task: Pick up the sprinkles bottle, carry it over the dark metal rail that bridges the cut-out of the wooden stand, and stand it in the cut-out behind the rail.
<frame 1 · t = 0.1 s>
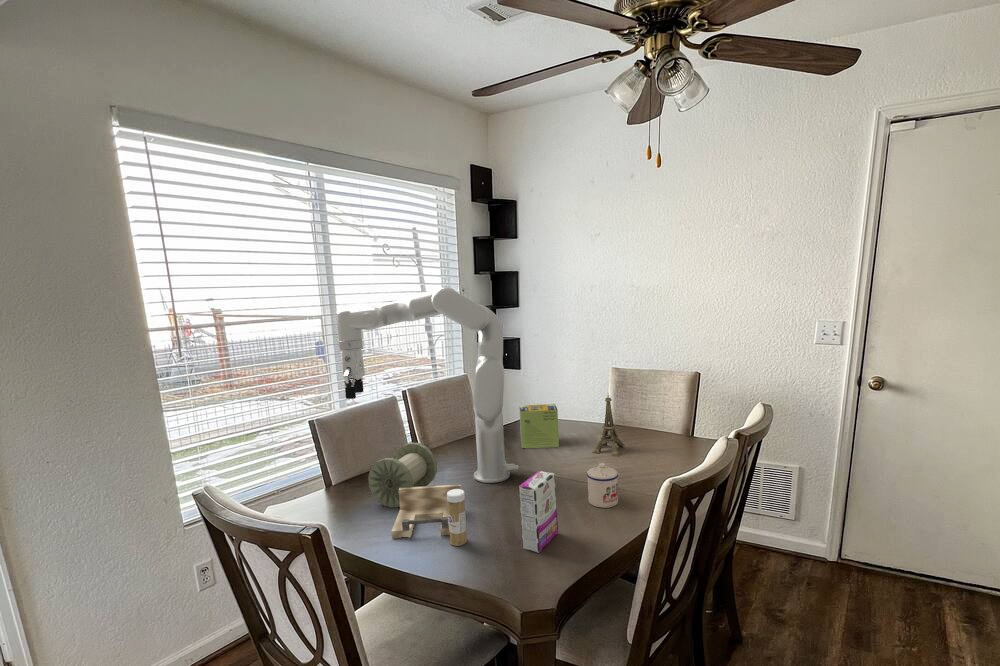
hand: (355, 395, 164), 31 cm above the table, tool pointing down, fingers open, 9 cm apart
protein box: (539, 444, 200), on the table
candy bar box: (540, 541, 123), on the table
teacup with lid: (606, 500, 145), on the table
sprinkles bottle: (458, 542, 125), on the table
wooden stand: (429, 523, 136), on the table
eiffel tower: (609, 451, 188), on the table
spool: (405, 496, 156), on the table
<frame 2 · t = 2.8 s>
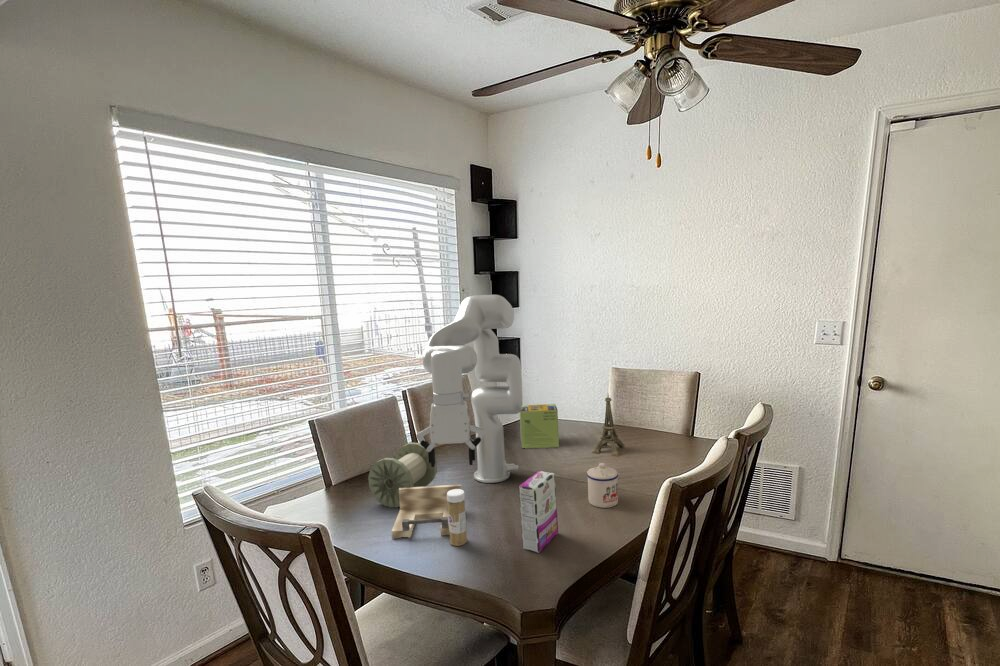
hand: (452, 464, 124), 21 cm above the table, tool pointing down, fingers open, 9 cm apart
nothing on the table moved.
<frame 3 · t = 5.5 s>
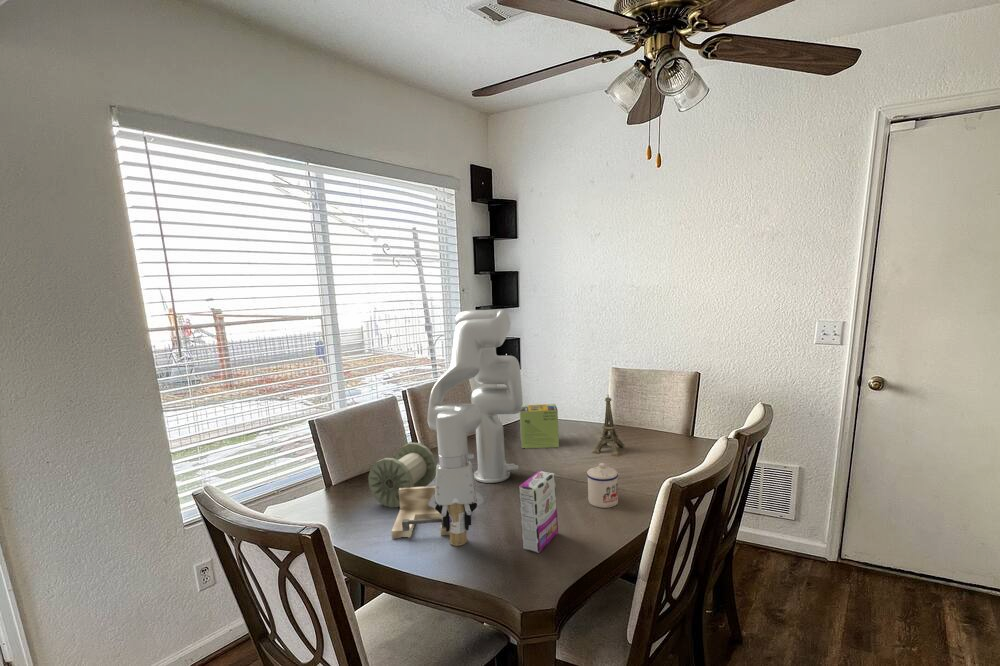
hand: (457, 527, 125), 4 cm above the table, tool pointing down, fingers closed on sprinkles bottle, 4 cm apart
sprinkles bottle: (458, 542, 125), on the table, touching gripper
everything else where it was.
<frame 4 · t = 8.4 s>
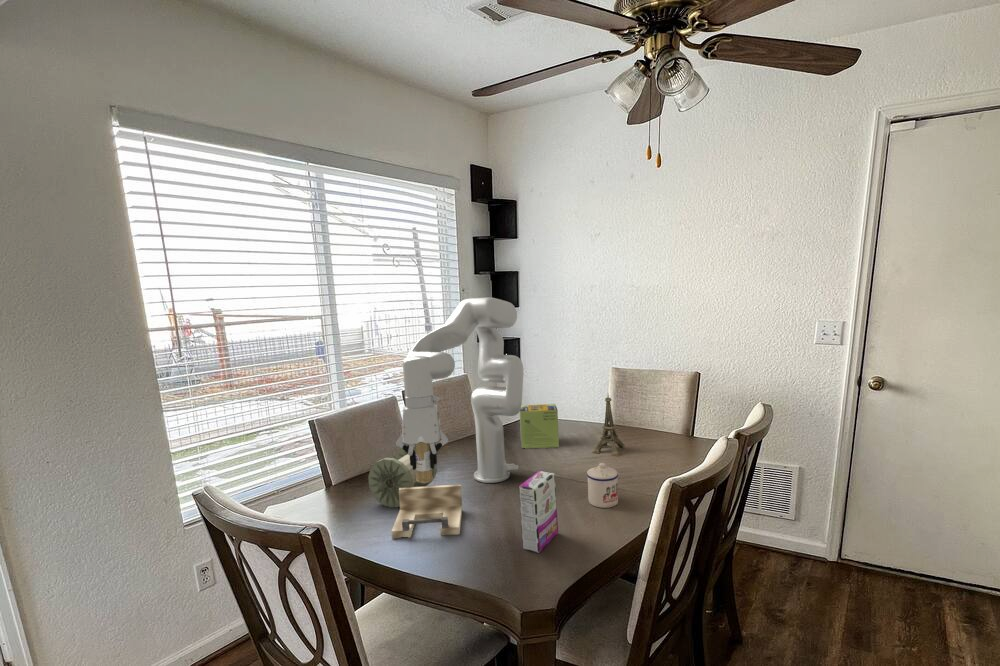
hand: (423, 466, 132), 17 cm above the table, tool pointing down, fingers closed on sprinkles bottle, 4 cm apart
sprinkles bottle: (424, 481, 133), point 13 cm above the table, touching gripper
everything else where it was.
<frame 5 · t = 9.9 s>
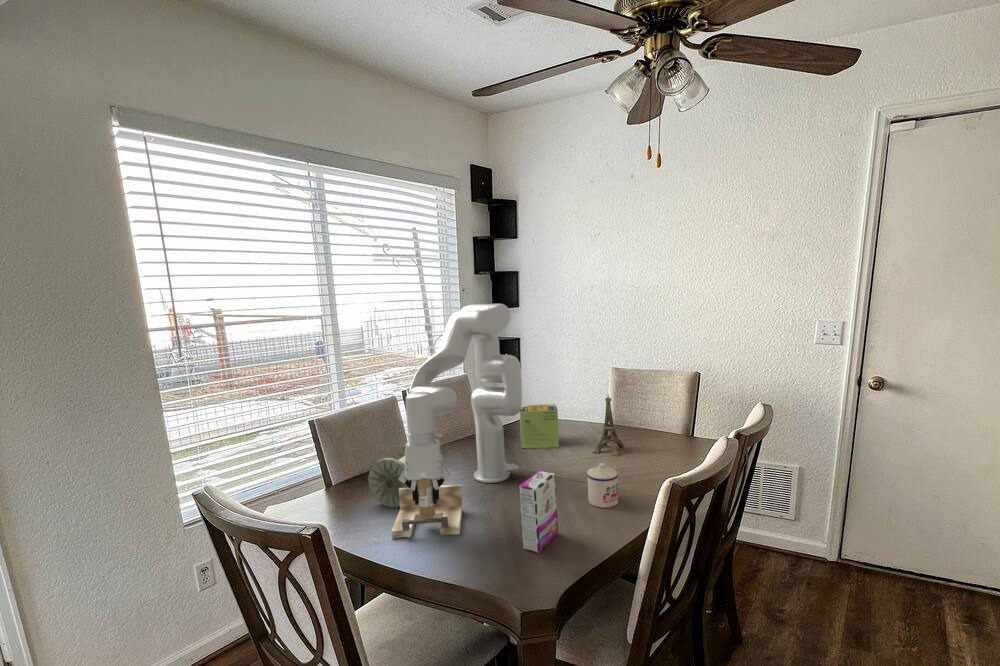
hand: (426, 501, 133), 7 cm above the table, tool pointing down, fingers closed on sprinkles bottle, 4 cm apart
sprinkles bottle: (427, 516, 133), point 3 cm above the table, touching gripper
everything else where it was.
when the fingers open (6 cm above the table, at t = 11.1 s): sprinkles bottle drops 2 cm, on the table.
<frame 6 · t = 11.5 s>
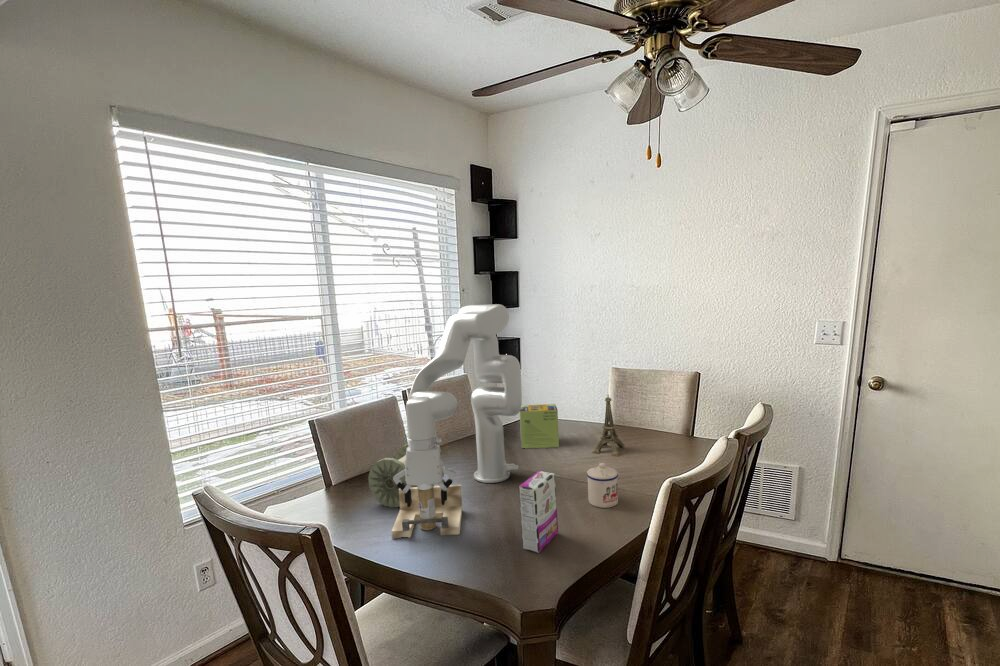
hand: (426, 503, 133), 7 cm above the table, tool pointing down, fingers open, 9 cm apart
sprinkles bottle: (428, 527, 134), on the table
everything else where it was.
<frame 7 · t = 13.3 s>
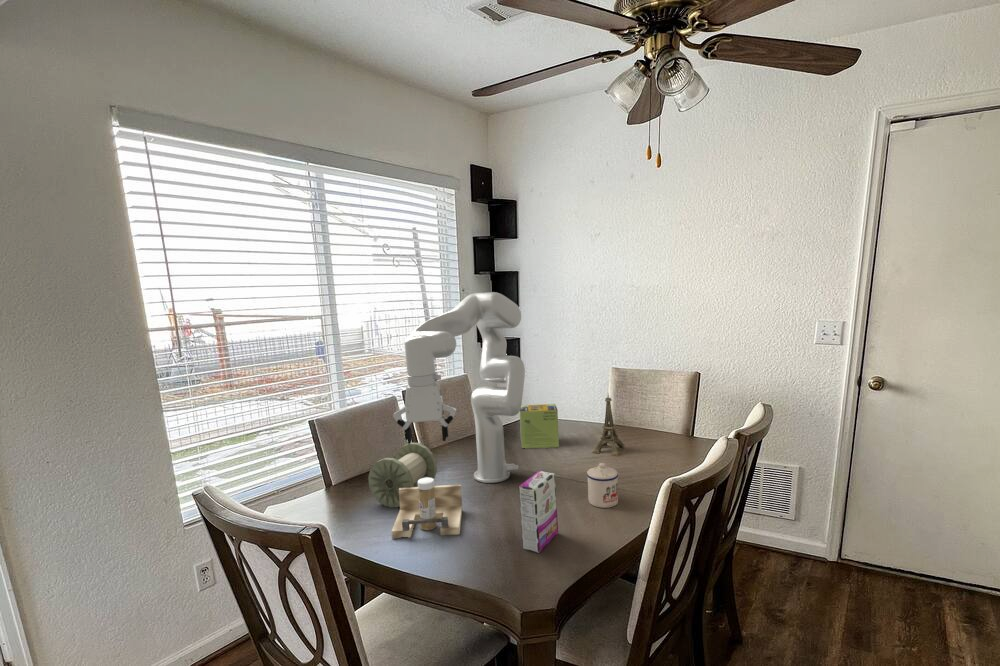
hand: (427, 440, 134), 24 cm above the table, tool pointing down, fingers open, 9 cm apart
nothing on the table moved.
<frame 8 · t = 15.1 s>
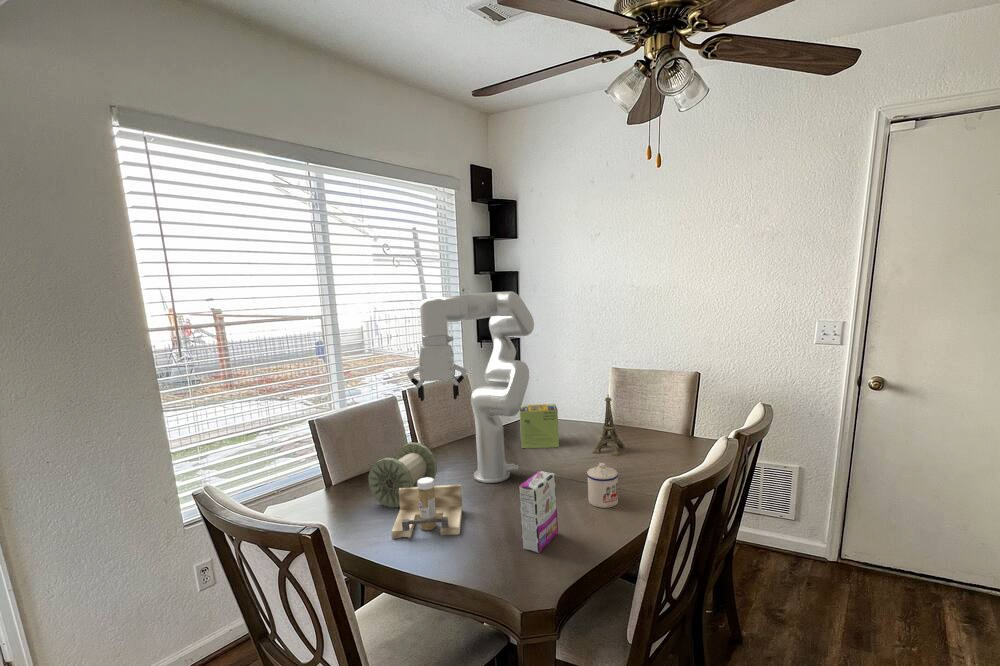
hand: (439, 399, 142), 33 cm above the table, tool pointing down, fingers open, 9 cm apart
nothing on the table moved.
at the end: sprinkles bottle 0.1 cm from the target spot, on the table; sprinkles bottle tilted 0°; the gripper is holding nothing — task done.
